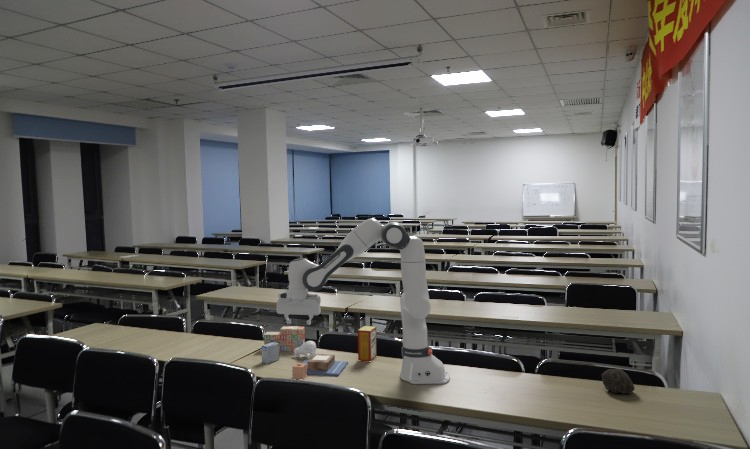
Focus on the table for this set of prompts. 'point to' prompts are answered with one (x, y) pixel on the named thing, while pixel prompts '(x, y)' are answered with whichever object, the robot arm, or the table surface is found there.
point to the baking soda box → (367, 343)
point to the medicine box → (270, 352)
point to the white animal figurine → (306, 349)
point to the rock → (617, 381)
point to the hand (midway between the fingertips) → (298, 324)
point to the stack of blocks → (286, 338)
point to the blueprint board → (337, 372)
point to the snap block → (299, 371)
